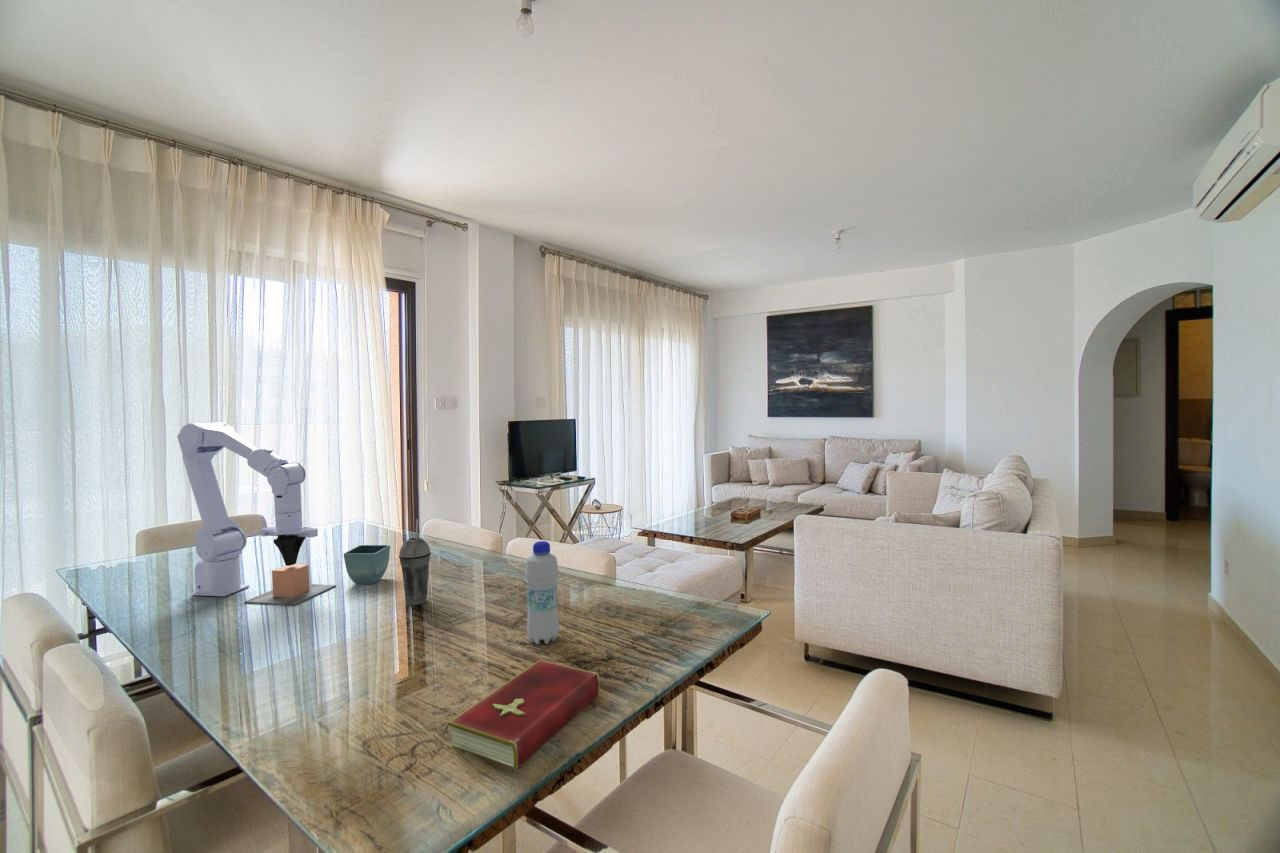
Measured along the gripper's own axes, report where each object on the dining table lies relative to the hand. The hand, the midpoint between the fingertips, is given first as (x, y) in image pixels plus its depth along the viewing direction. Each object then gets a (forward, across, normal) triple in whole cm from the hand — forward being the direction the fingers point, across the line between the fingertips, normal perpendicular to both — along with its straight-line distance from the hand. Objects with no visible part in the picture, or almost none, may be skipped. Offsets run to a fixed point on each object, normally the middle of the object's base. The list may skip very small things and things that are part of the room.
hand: (290, 564), depth 142 cm
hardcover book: (+9, +80, -45) cm, 93 cm away
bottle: (+8, +73, -18) cm, 76 cm away
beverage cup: (+8, +35, -1) cm, 36 cm away
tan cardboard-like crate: (+7, 0, 0) cm, 7 cm away
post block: (+8, 0, 0) cm, 8 cm away
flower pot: (+8, +13, +12) cm, 19 cm away
